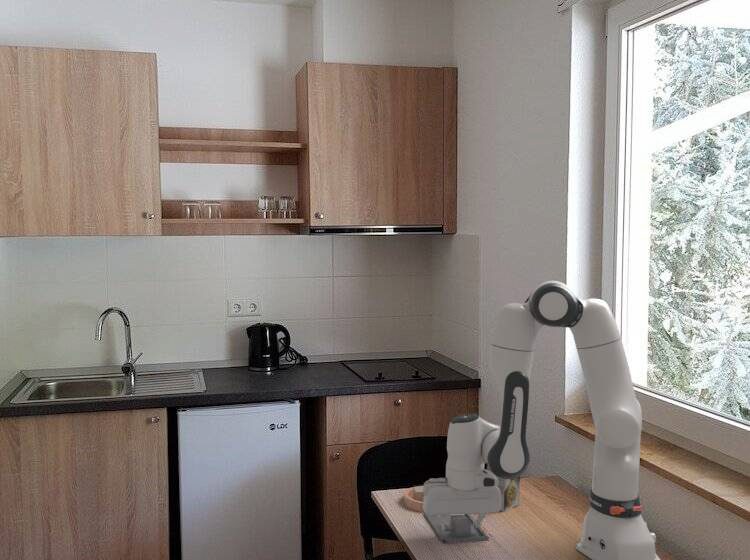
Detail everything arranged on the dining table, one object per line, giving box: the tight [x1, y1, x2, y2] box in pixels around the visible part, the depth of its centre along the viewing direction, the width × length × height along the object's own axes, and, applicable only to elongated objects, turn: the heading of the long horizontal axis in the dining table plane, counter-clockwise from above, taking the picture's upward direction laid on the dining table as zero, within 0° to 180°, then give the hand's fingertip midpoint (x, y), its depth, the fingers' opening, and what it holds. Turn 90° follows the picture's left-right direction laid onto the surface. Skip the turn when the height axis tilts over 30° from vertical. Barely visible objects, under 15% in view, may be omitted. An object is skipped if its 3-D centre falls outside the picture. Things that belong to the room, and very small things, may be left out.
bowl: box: [403, 485, 424, 513], centre depth 225 cm, size 14×14×3 cm
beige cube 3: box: [446, 514, 465, 530], centre depth 209 cm, size 4×4×4 cm
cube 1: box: [413, 486, 424, 502], centre depth 224 cm, size 4×4×4 cm
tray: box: [423, 512, 489, 544], centre depth 209 cm, size 18×12×1 cm, turn 11°
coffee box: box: [486, 463, 521, 513], centre depth 224 cm, size 9×6×16 cm
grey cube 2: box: [452, 517, 471, 538], centre depth 203 cm, size 4×4×4 cm
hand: (460, 529), depth 203 cm, fingers open, 7 cm apart
